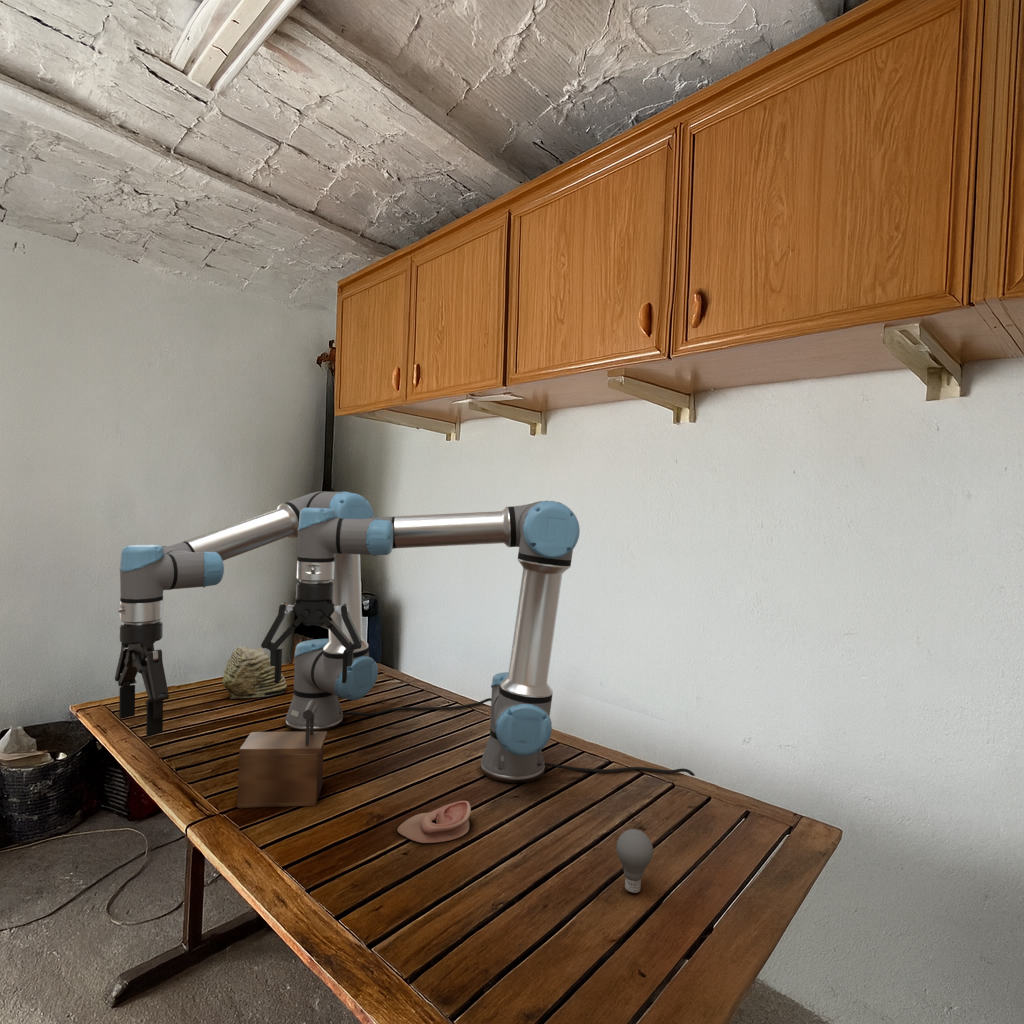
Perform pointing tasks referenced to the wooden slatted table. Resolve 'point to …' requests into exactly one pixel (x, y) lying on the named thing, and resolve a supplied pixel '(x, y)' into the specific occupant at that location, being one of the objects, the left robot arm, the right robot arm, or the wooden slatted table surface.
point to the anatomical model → (438, 824)
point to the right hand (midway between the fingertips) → (311, 681)
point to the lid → (287, 739)
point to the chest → (279, 780)
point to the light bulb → (634, 857)
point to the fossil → (251, 674)
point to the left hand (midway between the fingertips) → (140, 725)
